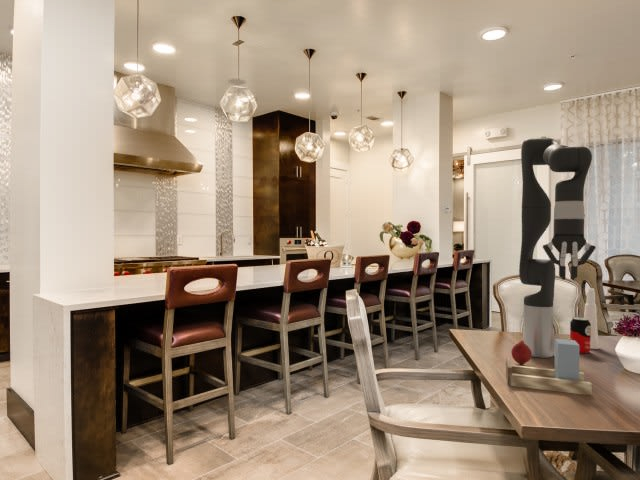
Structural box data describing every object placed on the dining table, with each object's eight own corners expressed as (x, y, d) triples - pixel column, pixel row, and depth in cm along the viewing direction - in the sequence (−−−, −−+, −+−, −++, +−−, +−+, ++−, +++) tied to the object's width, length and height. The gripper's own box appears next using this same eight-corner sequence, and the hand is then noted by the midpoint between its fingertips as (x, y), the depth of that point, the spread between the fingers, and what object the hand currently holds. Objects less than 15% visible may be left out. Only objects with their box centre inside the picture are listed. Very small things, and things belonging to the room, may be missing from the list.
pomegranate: (522, 368, 136) (523, 343, 136) (507, 363, 142) (507, 339, 141) (535, 366, 139) (535, 341, 139) (519, 361, 144) (519, 337, 144)
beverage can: (573, 353, 156) (573, 319, 156) (567, 348, 162) (568, 316, 162) (592, 354, 154) (593, 320, 154) (586, 350, 160) (587, 317, 160)
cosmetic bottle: (594, 349, 161) (595, 289, 161) (577, 346, 166) (578, 288, 166) (602, 347, 164) (603, 289, 164) (585, 344, 169) (586, 287, 169)
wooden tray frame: (583, 382, 123) (583, 365, 123) (591, 395, 114) (591, 376, 114) (505, 374, 130) (506, 357, 130) (507, 385, 121) (507, 367, 121)
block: (574, 380, 122) (575, 340, 122) (578, 386, 117) (579, 345, 117) (554, 377, 124) (554, 338, 124) (557, 384, 118) (558, 343, 118)
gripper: (593, 218, 125) (592, 279, 125) (540, 218, 130) (539, 277, 130) (600, 217, 118) (599, 282, 118) (543, 217, 123) (542, 279, 123)
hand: (567, 279), depth 124 cm, fingers closed
